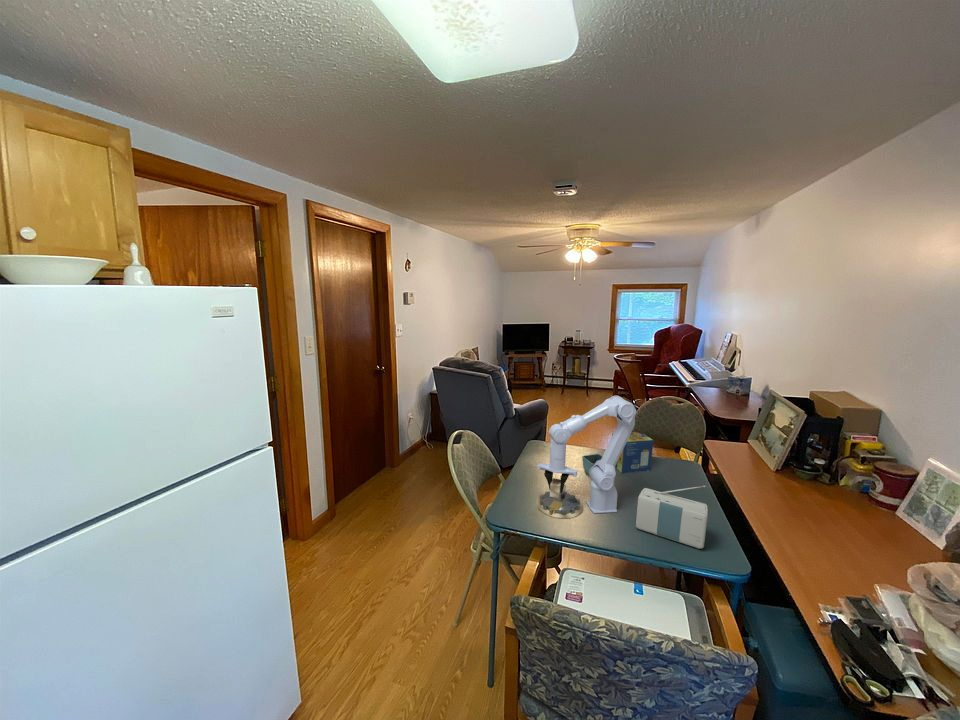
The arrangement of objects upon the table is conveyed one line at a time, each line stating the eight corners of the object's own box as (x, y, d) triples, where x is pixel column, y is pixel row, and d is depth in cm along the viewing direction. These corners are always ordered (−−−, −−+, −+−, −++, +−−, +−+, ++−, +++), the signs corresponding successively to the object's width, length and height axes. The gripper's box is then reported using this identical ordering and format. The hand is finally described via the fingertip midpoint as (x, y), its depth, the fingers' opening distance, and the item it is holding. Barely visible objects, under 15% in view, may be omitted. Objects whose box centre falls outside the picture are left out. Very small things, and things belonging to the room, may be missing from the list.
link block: (561, 492, 149) (562, 479, 148) (559, 498, 145) (559, 485, 144) (552, 490, 151) (553, 477, 150) (549, 496, 146) (550, 483, 145)
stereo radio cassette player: (634, 530, 137) (639, 477, 133) (639, 519, 143) (644, 468, 140) (702, 553, 125) (709, 496, 122) (705, 539, 132) (711, 485, 128)
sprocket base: (573, 492, 162) (573, 486, 162) (590, 517, 144) (590, 510, 144) (531, 494, 160) (531, 488, 160) (543, 520, 142) (543, 513, 142)
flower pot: (591, 483, 170) (592, 463, 168) (580, 474, 178) (581, 455, 177) (608, 480, 172) (610, 461, 171) (597, 471, 181) (598, 453, 179)
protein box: (609, 463, 189) (611, 433, 186) (638, 461, 192) (640, 431, 189) (621, 473, 179) (623, 441, 176) (651, 470, 182) (654, 439, 179)
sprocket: (584, 499, 155) (585, 487, 154) (573, 519, 142) (574, 505, 141) (547, 490, 162) (547, 477, 161) (533, 507, 149) (534, 494, 148)
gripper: (579, 455, 146) (577, 489, 148) (541, 449, 151) (540, 481, 154) (576, 463, 139) (574, 498, 142) (536, 456, 145) (535, 490, 148)
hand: (556, 490), depth 147 cm, fingers closed on link block, 3 cm apart
